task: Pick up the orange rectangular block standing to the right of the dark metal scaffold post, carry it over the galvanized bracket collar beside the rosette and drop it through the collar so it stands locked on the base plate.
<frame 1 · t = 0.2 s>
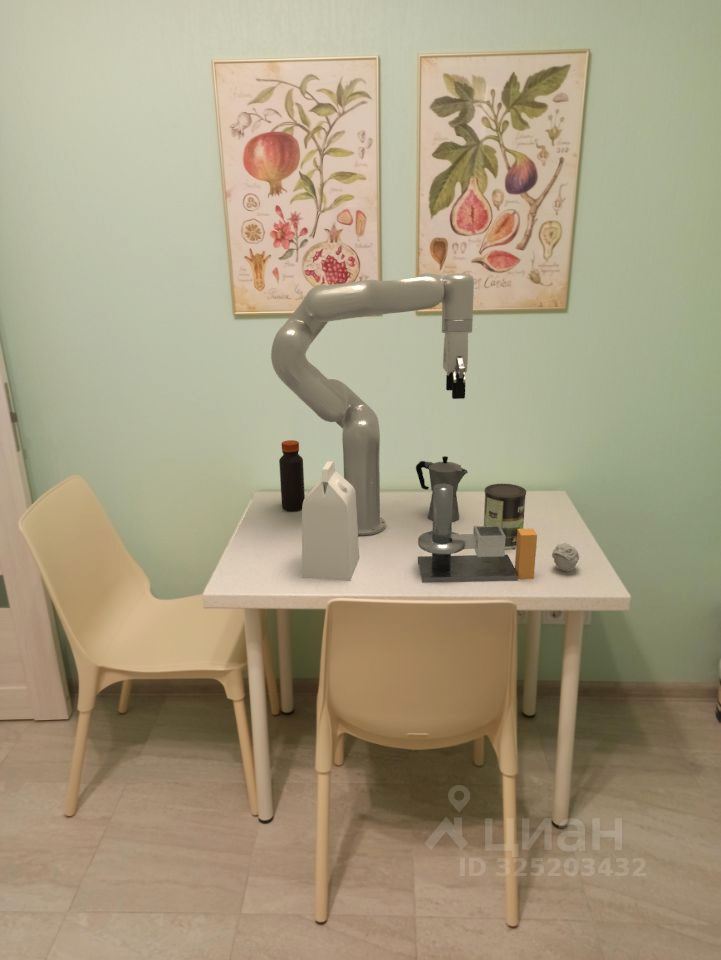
hand: (455, 394, 174), 37 cm above the table, tool pointing down, fingers open, 9 cm apart
orange rectangular block: (524, 575, 159), on the table
milk: (331, 568, 164), on the table
coffee can: (502, 541, 177), on the table
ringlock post: (466, 570, 161), on the table
vinegar: (293, 508, 200), on the table
plaster head sculpture: (564, 570, 161), on the table
coffeepot: (440, 517, 192), on the table
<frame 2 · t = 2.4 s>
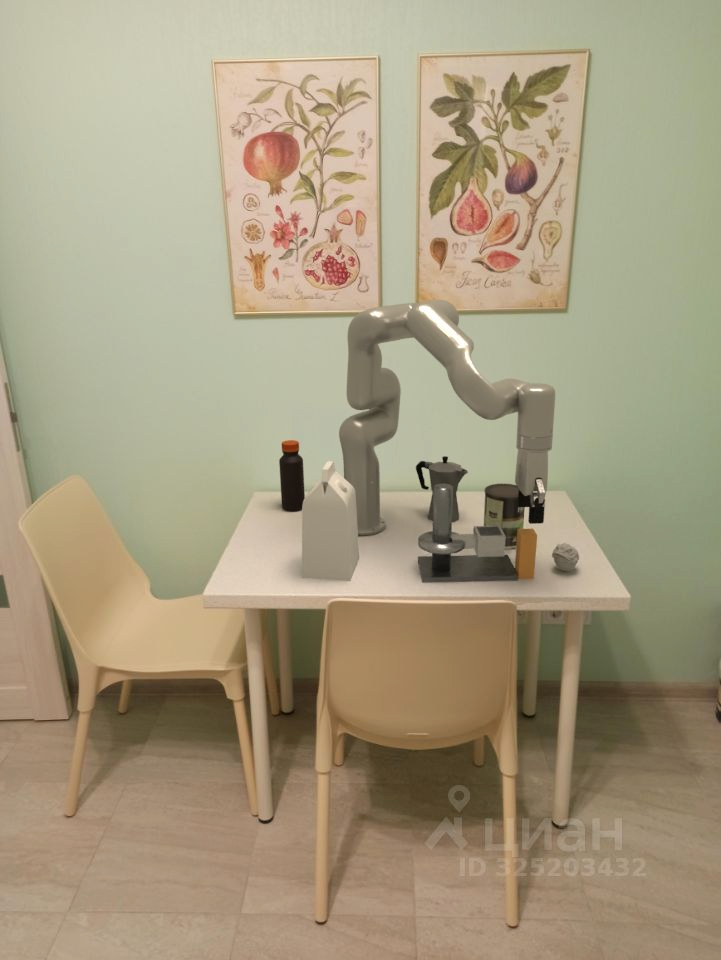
hand: (530, 514, 153), 15 cm above the table, tool pointing down, fingers open, 9 cm apart
nothing on the table moved.
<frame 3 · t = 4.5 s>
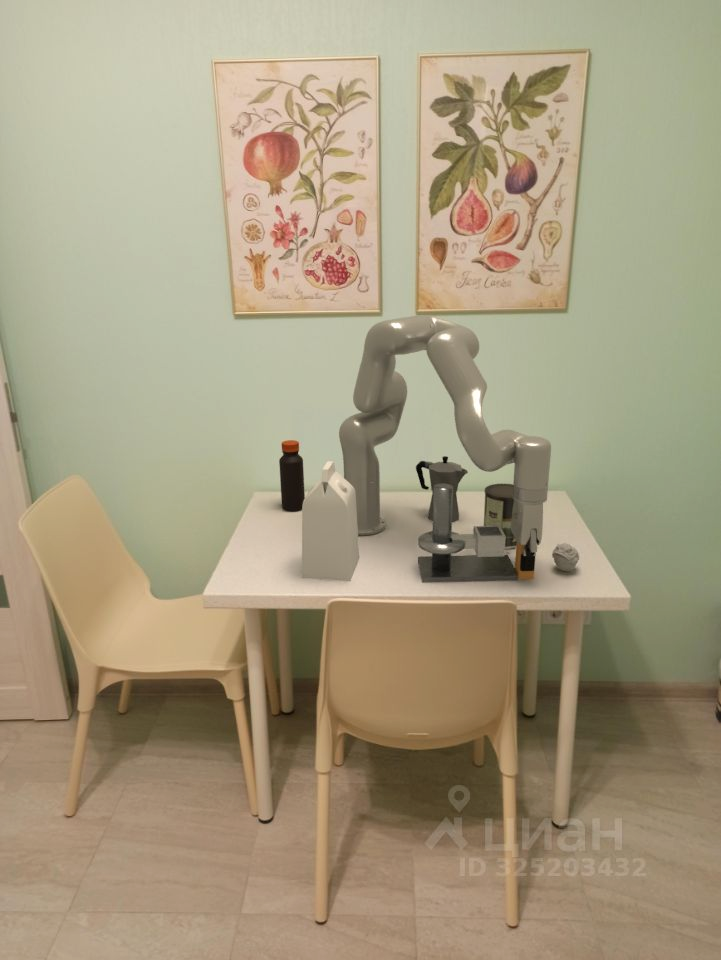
hand: (524, 565, 158), 2 cm above the table, tool pointing down, fingers closed on orange rectangular block, 3 cm apart
orange rectangular block: (524, 575, 159), on the table, touching gripper
everything else where it was.
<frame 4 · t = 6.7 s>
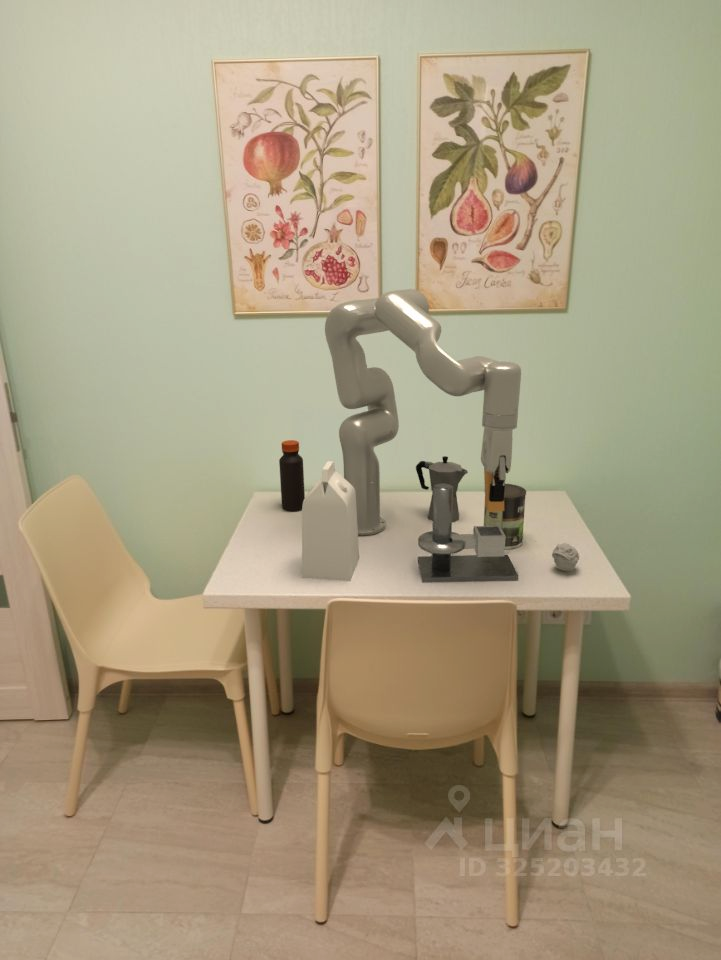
hand: (494, 496, 155), 19 cm above the table, tool pointing down, fingers closed on orange rectangular block, 3 cm apart
orange rectangular block: (494, 508, 156), point 16 cm above the table, touching gripper
everything else where it was.
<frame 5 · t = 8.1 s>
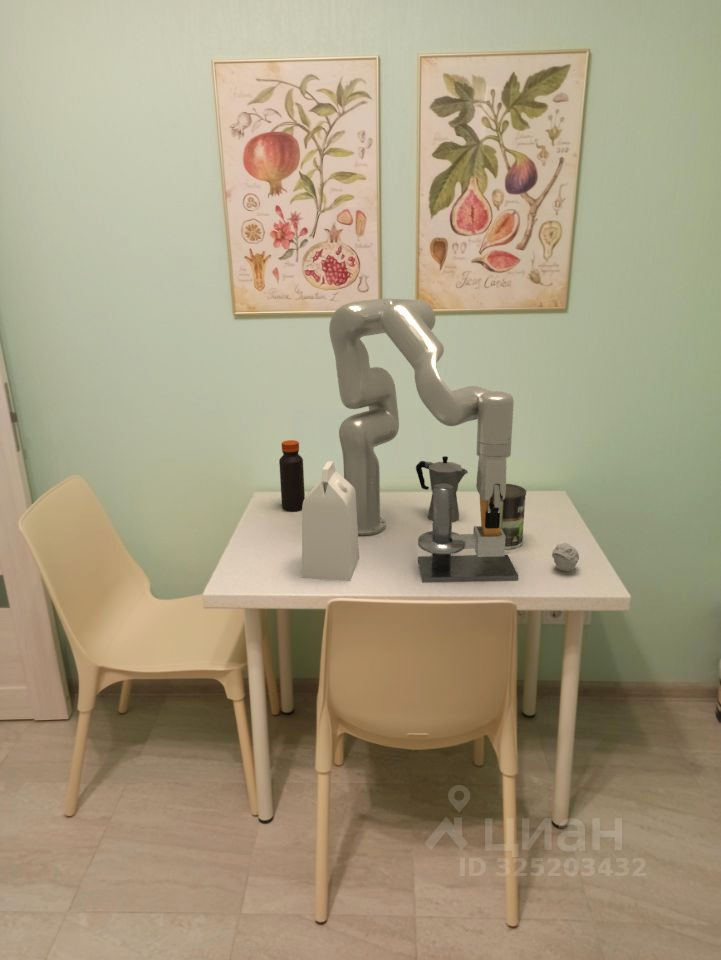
hand: (490, 523, 157), 12 cm above the table, tool pointing down, fingers closed on orange rectangular block, 3 cm apart
orange rectangular block: (490, 534, 158), point 9 cm above the table, tilted 6°, touching gripper
everything else where it was.
when the fingers open (11 cm above the table, at t = 9.0 s): orange rectangular block drops 7 cm, resting on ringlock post.
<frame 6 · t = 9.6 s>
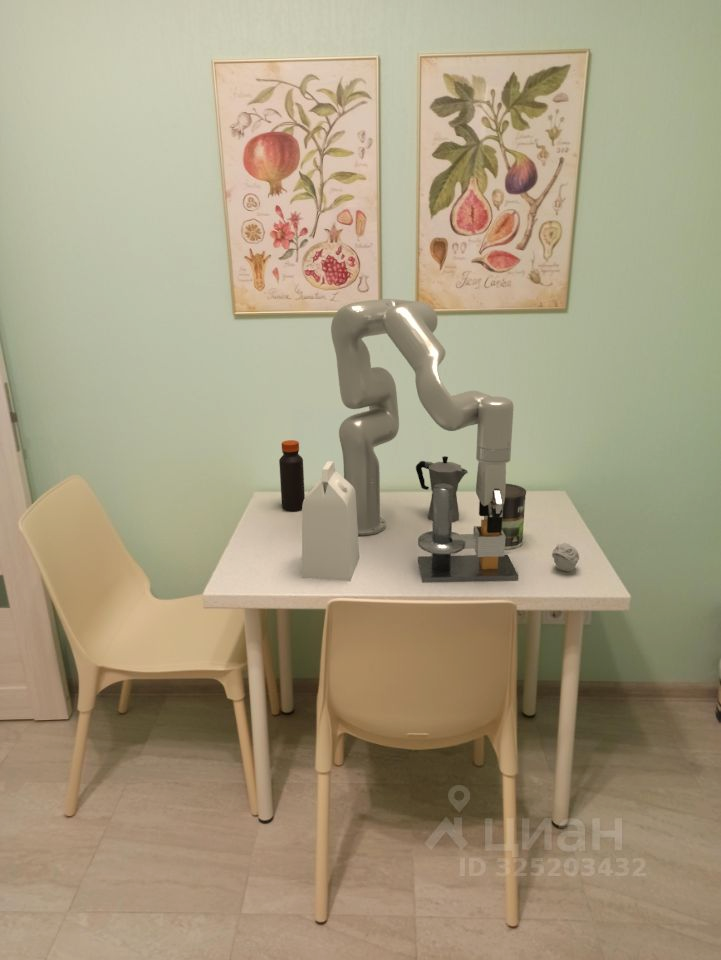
hand: (489, 523, 157), 12 cm above the table, tool pointing down, fingers open, 9 cm apart
orange rectangular block: (488, 565, 161), point 1 cm above the table, touching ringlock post
everything else where it was.
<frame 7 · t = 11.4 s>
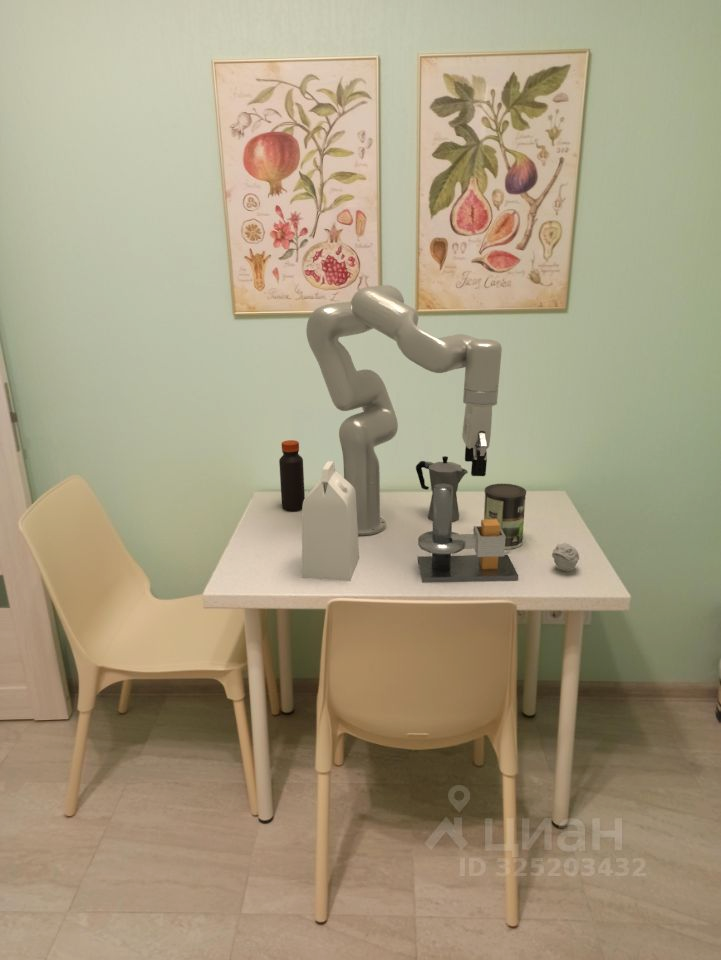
hand: (474, 468, 158), 24 cm above the table, tool pointing down, fingers open, 9 cm apart
nothing on the table moved.
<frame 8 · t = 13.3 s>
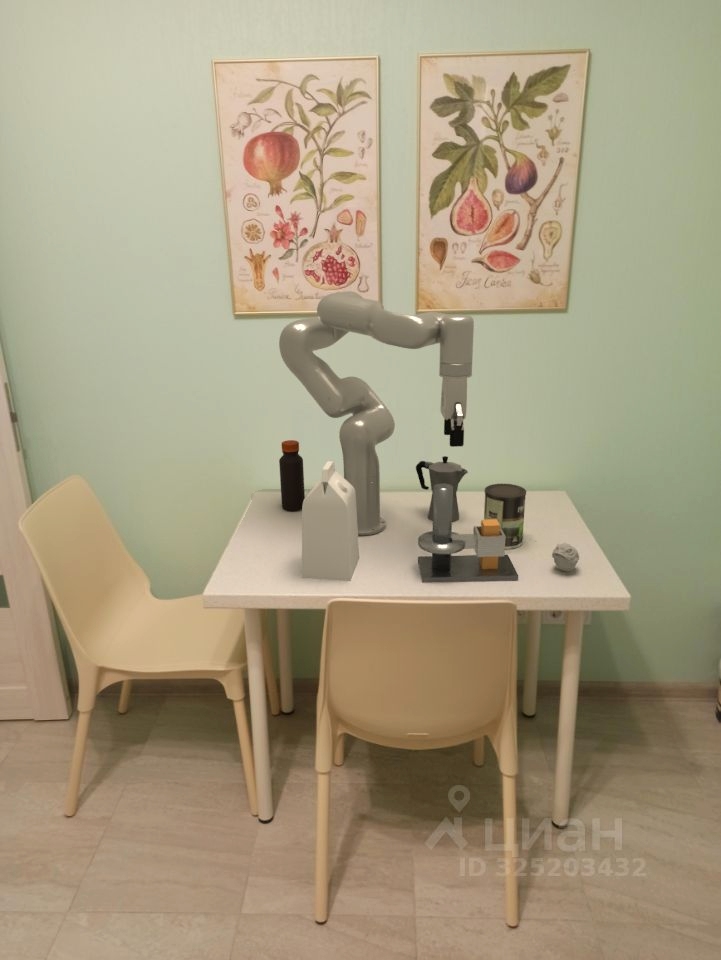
hand: (453, 440, 164), 28 cm above the table, tool pointing down, fingers open, 9 cm apart
nothing on the table moved.
at the end: orange rectangular block 0.2 cm from the target spot on the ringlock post, point 1.2 cm above the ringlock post's base; orange rectangular block tilted 0°; the gripper is holding nothing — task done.
